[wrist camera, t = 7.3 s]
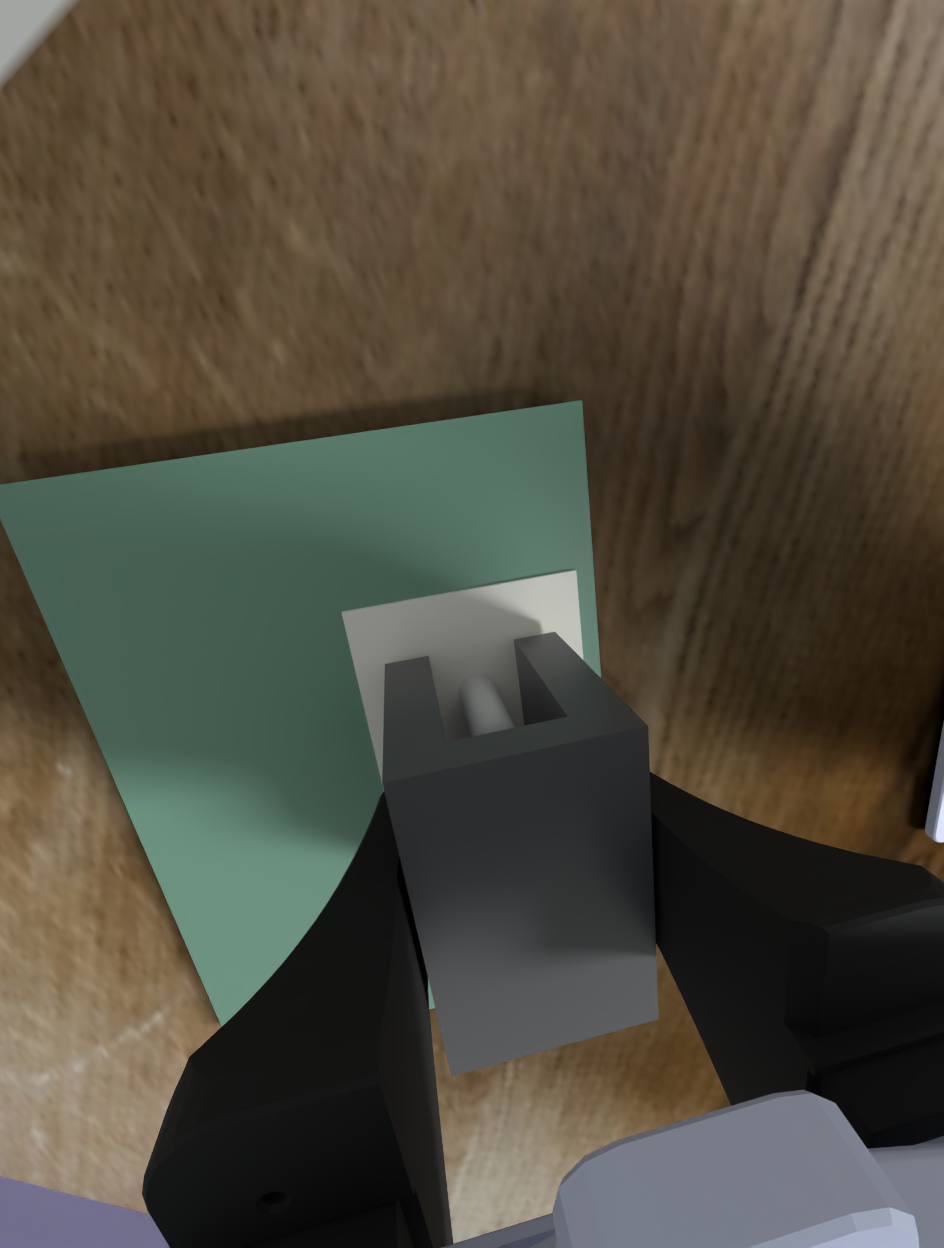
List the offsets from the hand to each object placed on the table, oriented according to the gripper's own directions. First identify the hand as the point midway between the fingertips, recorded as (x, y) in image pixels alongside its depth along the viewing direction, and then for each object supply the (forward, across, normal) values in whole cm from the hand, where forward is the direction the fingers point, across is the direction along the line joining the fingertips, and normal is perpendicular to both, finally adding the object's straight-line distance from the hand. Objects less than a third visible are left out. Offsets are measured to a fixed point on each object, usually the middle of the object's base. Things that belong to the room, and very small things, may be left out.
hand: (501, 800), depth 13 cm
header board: (+3, +3, 0) cm, 4 cm away
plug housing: (+2, 0, 0) cm, 2 cm away
